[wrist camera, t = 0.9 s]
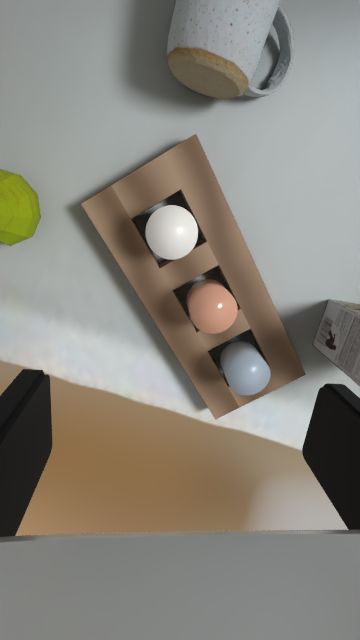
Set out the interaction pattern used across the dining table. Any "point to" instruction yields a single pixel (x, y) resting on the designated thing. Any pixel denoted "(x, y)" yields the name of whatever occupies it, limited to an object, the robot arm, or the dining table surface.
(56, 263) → the dining table surface
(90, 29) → the dining table surface
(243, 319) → the walnut board
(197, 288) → the salmon domed cylinder
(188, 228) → the white egg
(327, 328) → the coffee box
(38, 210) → the fruit
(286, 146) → the dining table surface
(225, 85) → the ceramic mug
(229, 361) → the blue egg
